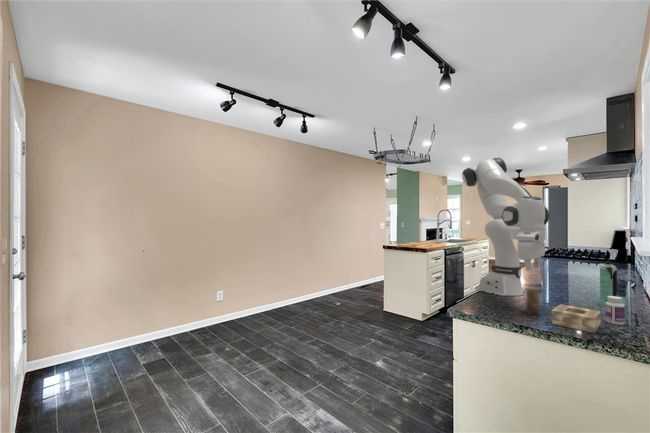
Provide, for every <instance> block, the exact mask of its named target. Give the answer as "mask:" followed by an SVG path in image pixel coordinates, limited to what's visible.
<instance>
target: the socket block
mask: <svg viewBox="0 0 650 433" xmlns="http://www.w3.org/2000/svg"><path fill="white" fill-rule="evenodd" d="M601 312H602V311H600V310H595V309H590V308H584V307H578V306H574V305H573V306H572V305H568V304H562V303H560V304H559V305H558V306H556V307H554V308H553V309H551V325H557V326H560V327H561V326H562V327H566V328H570V329H574V330H579V331H582V332H583V331H584V332H589V333H592V334H595V333H596V332H597V330H598V329H599V328H600V327H601V324H602V319H601V318H602V315H601V314H602V313H601ZM599 326H600V327H599Z"/></svg>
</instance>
